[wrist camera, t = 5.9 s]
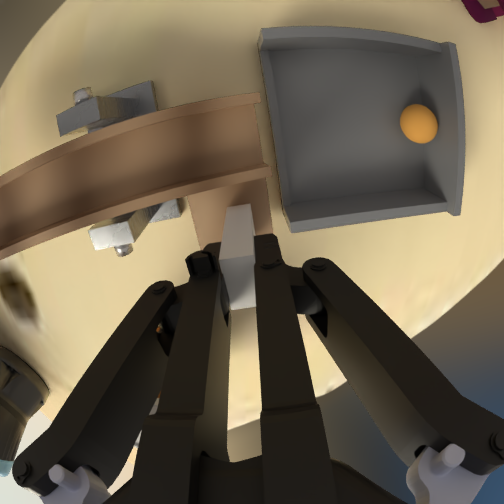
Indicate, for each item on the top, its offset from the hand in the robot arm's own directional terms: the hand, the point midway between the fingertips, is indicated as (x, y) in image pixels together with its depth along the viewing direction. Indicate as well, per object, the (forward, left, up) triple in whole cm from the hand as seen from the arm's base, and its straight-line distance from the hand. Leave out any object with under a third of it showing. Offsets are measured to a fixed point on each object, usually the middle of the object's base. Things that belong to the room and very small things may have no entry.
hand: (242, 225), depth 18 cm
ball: (+15, +5, -3) cm, 16 cm away
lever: (-10, +2, +1) cm, 10 cm away
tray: (+10, +5, -5) cm, 12 cm away
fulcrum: (-8, +5, -5) cm, 11 cm away
